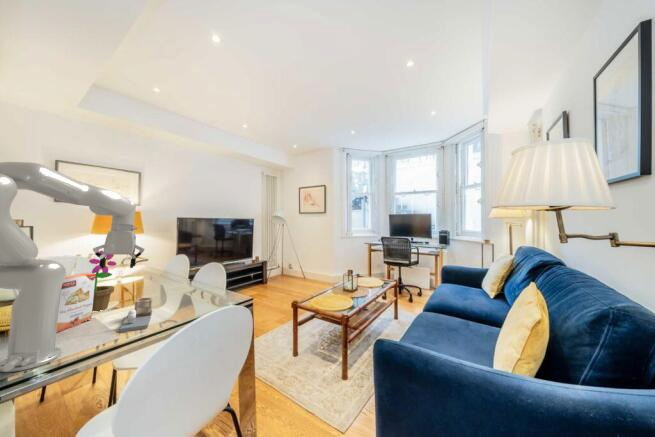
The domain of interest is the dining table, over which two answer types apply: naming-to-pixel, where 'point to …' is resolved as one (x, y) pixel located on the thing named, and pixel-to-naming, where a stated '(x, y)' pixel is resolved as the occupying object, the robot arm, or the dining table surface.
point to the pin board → (135, 322)
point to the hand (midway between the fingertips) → (117, 267)
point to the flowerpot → (102, 292)
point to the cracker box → (75, 300)
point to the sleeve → (143, 306)
